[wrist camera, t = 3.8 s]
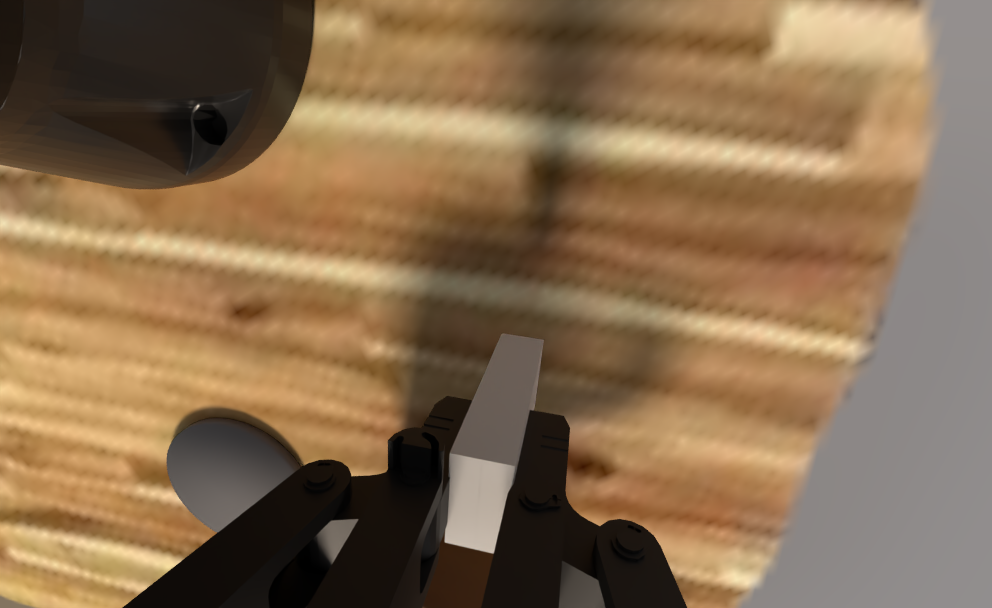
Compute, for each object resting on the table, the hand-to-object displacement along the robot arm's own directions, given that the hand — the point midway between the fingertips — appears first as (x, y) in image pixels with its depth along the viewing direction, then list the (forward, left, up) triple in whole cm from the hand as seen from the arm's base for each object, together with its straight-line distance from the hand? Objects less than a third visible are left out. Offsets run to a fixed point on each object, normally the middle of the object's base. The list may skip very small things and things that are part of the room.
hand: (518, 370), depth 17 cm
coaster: (+13, -16, -4) cm, 21 cm away
